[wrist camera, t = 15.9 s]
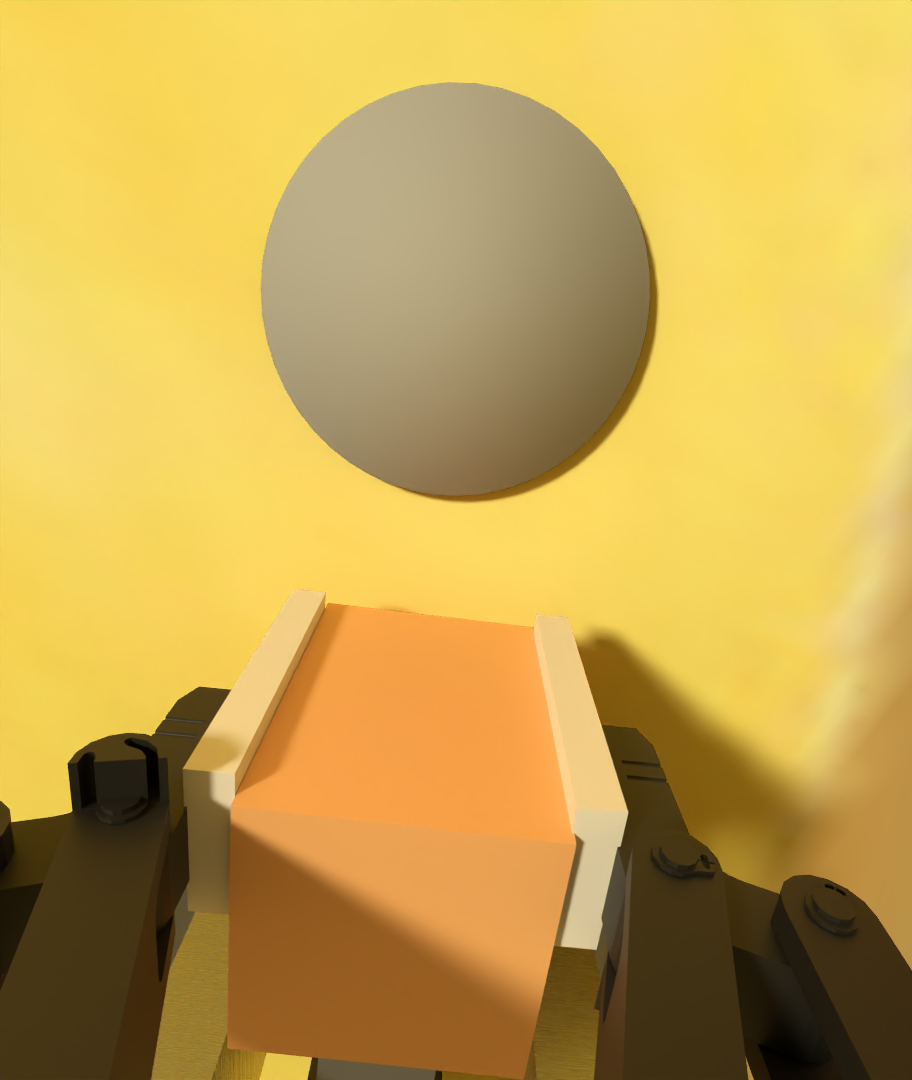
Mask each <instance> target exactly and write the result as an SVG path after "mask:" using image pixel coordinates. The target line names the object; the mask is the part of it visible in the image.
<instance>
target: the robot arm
mask: <svg viewBox="0 0 912 1080" xmlns="http://www.w3.org/2000/svg"><path fill="white" fill-rule="evenodd" d="M325 594H326V592H316V591H306V590H296V589H293V591H292V593H291V594H290V596H289V598H288V599H287V601H286V602H285V604H284V606H283V607H282V609H281V611H280V612H279V614H278V615H277V617H276V619H275V620H274V622H273V623H272V625H271V627H270V628H269V630H268V632H267V633H266V635H265V636H264V638H263V640H262V641H261V643H260V645H259V646H258V648H257V649H256V651H255V653H254V654H253V656H252V657H251V659H250V661H249V662H248V664H247V666H246V667H245V669H244V670H243V672H242V674H241V675H240V677H239V678H238V680H237V682H236V683H235V685H234V687H233V688H232V690H228V689H218V688H208V687H198V688H196V689H195V690H193V691H192V692H190V693H188V694H187V695H185V696H184V697H182V698H181V699H179V700H178V701H177V702H176V704H175V705H174V706H173V708H172V709H171V710H170V712H169V713H168V714H167V716H166V719H165V720H163V721H162V723H161V724H160V725H159V727H158V728H157V729H156V732H155V734H153V735H152V736H149V735H146V734H137V733H124V734H118V735H112V736H107V737H105V738H102V739H99V740H97V741H94V742H91V743H90V744H88V745H87V746H85V747H84V748H82V749H81V750H79V751H78V752H76V753H75V755H74V756H73V757H72V759H71V760H70V761H69V762H68V771H69V781H70V791H71V800H72V812H71V813H68V814H64V815H59V816H54V817H48V818H41V819H33V820H26V821H18V822H11V816H10V809H9V808H8V807H7V806H6V805H5V804H4V803H2V802H1V801H0V1080H151V1077H152V1071H153V1065H154V1059H155V1053H156V1047H157V1041H158V1035H159V1029H160V1023H161V1017H162V1011H163V1005H164V999H165V993H166V987H167V981H168V975H169V969H170V963H171V957H172V951H173V945H174V939H175V913H174V911H175V909H176V907H177V905H178V903H179V901H180V899H181V897H182V895H183V893H184V891H185V889H186V887H187V900H188V911H193V912H204V913H214V914H225V915H229V884H230V814H231V804H232V802H233V800H234V798H235V796H236V794H237V792H238V790H239V787H240V785H241V783H242V781H243V779H244V777H245V775H246V773H247V771H248V769H249V767H250V765H251V762H252V760H253V758H254V756H255V754H256V752H257V750H258V748H259V746H260V744H261V742H262V740H263V737H264V735H265V733H266V731H267V729H268V727H269V725H270V723H271V721H272V719H273V717H274V715H275V713H276V710H277V708H278V706H279V704H280V702H281V700H282V698H283V696H284V694H285V692H286V690H287V688H288V685H289V683H290V681H291V679H292V677H293V675H294V673H295V671H296V669H297V667H298V665H299V663H300V660H301V658H302V656H303V654H304V652H305V650H306V648H307V646H308V644H309V642H310V640H311V638H312V635H313V633H314V631H315V629H316V627H317V625H318V623H319V621H320V619H321V617H322V615H323V613H324V611H325ZM533 633H534V638H535V643H536V648H537V653H538V659H539V664H540V669H541V674H542V679H543V685H544V690H545V695H546V700H547V705H548V711H549V716H550V721H551V726H552V731H553V737H554V742H555V747H556V752H557V757H558V763H559V768H560V773H561V778H562V783H563V789H564V794H565V799H566V804H567V809H568V815H569V820H570V825H571V830H572V833H574V834H575V840H576V850H575V854H574V858H573V863H572V867H571V872H570V876H569V881H568V885H567V889H566V894H565V898H564V903H563V907H562V912H561V916H560V921H559V925H558V929H557V934H556V938H555V943H554V946H562V947H572V948H582V949H593V950H597V946H598V942H599V937H600V933H601V929H602V924H603V928H604V933H605V938H606V942H607V947H608V952H607V957H606V961H605V965H604V969H603V973H602V977H601V982H600V986H599V990H598V994H597V998H596V1003H595V1007H594V1009H596V1010H599V1022H598V1035H597V1047H596V1059H595V1071H594V1080H748V1073H747V1065H746V1058H747V1061H748V1064H749V1067H750V1070H751V1073H752V1076H753V1078H754V1080H912V970H911V969H910V967H909V965H908V964H907V962H906V961H905V959H904V958H903V956H902V955H901V953H900V952H899V950H898V949H897V947H896V945H895V944H894V943H893V941H892V939H891V938H890V936H889V935H888V933H887V932H886V930H885V928H884V927H883V925H882V924H881V922H880V921H879V919H878V918H877V916H876V915H875V914H874V913H873V912H872V911H871V909H870V908H869V907H868V906H867V905H866V903H865V902H864V901H862V900H861V899H860V898H858V897H857V896H856V895H854V894H853V893H852V892H850V891H849V890H848V889H846V888H844V887H842V886H840V885H838V884H836V883H834V882H832V881H830V880H828V879H824V878H820V877H816V876H812V875H799V876H793V877H791V878H790V879H788V880H786V881H785V882H784V883H783V886H782V889H781V892H780V894H777V893H774V892H772V891H769V890H766V889H763V888H760V887H757V886H754V885H751V884H748V883H746V882H743V881H741V880H738V879H736V878H734V877H731V876H729V875H727V874H726V873H724V872H723V871H722V869H721V866H720V864H719V861H718V859H717V858H716V857H715V856H714V854H713V853H712V852H711V851H710V850H709V848H708V847H707V846H705V845H704V844H702V843H701V842H699V841H698V840H697V839H695V838H694V837H692V836H690V835H689V832H688V830H687V828H686V825H685V823H684V820H683V818H682V815H681V813H680V811H679V808H678V806H677V803H676V801H675V798H674V796H673V794H672V791H671V789H670V786H669V784H668V783H667V782H666V780H667V779H666V777H665V774H664V772H663V769H662V768H660V762H659V760H658V757H657V755H656V752H655V750H654V747H653V745H652V744H651V743H650V742H649V741H648V740H647V739H646V738H645V737H644V736H643V735H642V734H641V733H640V732H639V731H638V730H637V729H635V728H625V727H615V726H605V725H601V723H600V719H599V716H598V713H597V710H596V706H595V703H594V700H593V697H592V694H591V690H590V687H589V684H588V681H587V677H586V674H585V671H584V668H583V664H582V661H581V658H580V655H579V651H578V648H577V645H576V642H575V639H574V635H573V632H572V629H571V626H570V622H569V619H568V617H560V616H550V615H540V614H536V620H535V626H534V632H533ZM745 1056H746V1057H745Z"/></svg>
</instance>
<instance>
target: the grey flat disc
mask: <svg viewBox="0 0 912 1080" xmlns="http://www.w3.org/2000/svg"><path fill="white" fill-rule="evenodd" d="M261 299H262V316H263V321H264V327H265V332H266V338H267V342H268V345H269V349H270V352H271V355H272V358H273V362H274V365H275V367H276V370H277V372H278V374H279V376H280V379H281V381H282V383H283V385H284V388H285V390H286V391H287V393H288V395H289V396H290V398H291V400H292V401H293V403H294V405H295V406H296V408H297V410H298V411H299V412H300V414H301V415H302V416H303V418H304V419H305V420H306V421H307V423H308V424H309V425H310V427H311V428H312V429H313V430H314V431H315V432H316V433H317V434H318V435H319V436H320V437H321V438H322V439H323V440H324V441H325V442H326V443H327V444H328V445H329V446H330V447H331V448H332V449H333V450H334V451H336V452H337V453H338V454H339V455H341V456H342V457H343V458H345V459H346V460H347V461H348V462H350V463H351V464H353V465H355V466H356V467H358V468H360V469H361V470H363V471H365V472H366V473H368V474H370V475H372V476H374V477H376V478H378V479H381V480H383V481H385V482H387V483H390V484H392V485H395V486H399V487H402V488H405V489H409V490H412V491H417V492H423V493H429V494H435V495H453V496H464V495H475V494H485V493H489V492H494V491H498V490H503V489H507V488H510V487H513V486H515V485H518V484H521V483H524V482H527V481H529V480H531V479H533V478H535V477H537V476H539V475H541V474H543V473H545V472H547V471H549V470H551V469H552V468H554V467H555V466H557V465H558V464H560V463H561V462H563V461H564V460H566V459H567V458H569V457H570V456H571V455H572V454H573V453H575V452H576V451H577V450H578V449H579V448H580V447H581V446H583V445H584V444H585V443H586V442H587V441H588V440H589V439H590V438H591V437H592V436H593V435H594V434H595V432H596V431H597V430H598V429H599V428H600V427H601V426H602V425H603V424H604V422H605V421H606V420H607V418H608V417H609V415H610V414H611V412H612V411H613V410H614V408H615V407H616V405H617V404H618V402H619V401H620V399H621V397H622V395H623V393H624V391H625V389H626V388H627V386H628V384H629V382H630V380H631V378H632V375H633V373H634V370H635V367H636V365H637V362H638V359H639V357H640V354H641V350H642V346H643V342H644V338H645V334H646V330H647V323H648V314H649V306H650V271H649V264H648V256H647V248H646V244H645V240H644V236H643V233H642V229H641V225H640V221H639V218H638V216H637V213H636V211H635V209H634V206H633V204H632V201H631V199H630V196H629V194H628V192H627V190H626V189H625V187H624V185H623V183H622V182H621V180H620V178H619V176H618V175H617V173H616V171H615V170H614V168H613V167H612V166H611V164H610V163H609V162H608V160H607V159H606V158H605V157H604V155H603V154H602V153H601V151H600V150H599V149H598V147H597V146H596V145H595V144H593V143H592V142H591V141H590V140H589V139H588V138H587V137H586V136H585V135H584V134H583V133H582V132H581V131H580V130H579V129H578V128H577V127H576V126H574V125H573V124H572V123H570V122H569V121H568V120H566V119H565V118H563V117H562V116H561V115H559V114H558V113H557V112H555V111H554V110H552V109H550V108H548V107H546V106H544V105H542V104H540V103H539V102H537V101H535V100H533V99H531V98H529V97H526V96H523V95H520V94H517V93H514V92H512V91H509V90H506V89H503V88H498V87H492V86H487V85H482V84H476V83H449V82H447V83H439V84H431V85H422V86H417V87H414V88H410V89H407V90H403V91H399V92H396V93H392V94H390V95H388V96H386V97H383V98H381V99H379V100H377V101H375V102H372V103H370V104H368V105H366V106H365V107H363V108H361V109H360V110H358V111H357V112H355V113H354V114H352V115H350V116H349V117H347V118H346V119H344V120H343V121H342V122H341V123H339V124H338V125H337V126H336V127H335V128H334V129H332V130H331V131H330V132H329V133H328V134H327V135H326V136H324V137H323V138H322V139H321V140H320V142H319V143H318V144H317V145H316V146H315V147H314V148H313V150H312V151H311V152H310V153H309V154H308V155H307V156H306V158H305V159H304V160H303V162H302V163H301V165H300V166H299V168H298V169H297V171H296V172H295V174H294V175H293V177H292V178H291V180H290V181H289V183H288V185H287V187H286V189H285V191H284V193H283V195H282V197H281V199H280V202H279V204H278V206H277V208H276V211H275V214H274V217H273V220H272V223H271V226H270V229H269V232H268V236H267V241H266V246H265V251H264V257H263V263H262V278H261Z"/></svg>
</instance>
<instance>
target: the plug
mask: <svg viewBox="0 0 912 1080" xmlns="http://www.w3.org/2000/svg"><path fill="white" fill-rule="evenodd" d="M533 632H534V627H525V626H517V625H508V624H500V623H492V622H483V621H475V620H466V619H458V618H449V617H441V616H433V615H424V614H416V613H407V612H399V611H391V610H382V609H374V608H365V607H357V606H348V605H340V604H332V603H328V604H327V606H326V608H325V611H324V613H323V615H322V617H321V619H320V621H319V623H318V625H317V627H316V629H315V631H314V633H313V635H312V638H311V640H310V642H309V644H308V646H307V648H306V650H305V652H304V654H303V656H302V658H301V660H300V663H299V665H298V667H297V669H296V671H295V673H294V675H293V677H292V679H291V681H290V683H289V685H288V688H287V690H286V692H285V694H284V696H283V698H282V700H281V702H280V704H279V706H278V708H277V710H276V713H275V715H274V717H273V719H272V721H271V723H270V725H269V727H268V729H267V731H266V733H265V735H264V737H263V740H262V742H261V744H260V746H259V748H258V750H257V752H256V754H255V756H254V758H253V760H252V762H251V765H250V767H249V769H248V771H247V773H246V775H245V777H244V779H243V781H242V783H241V785H240V787H239V790H238V792H237V794H236V796H235V798H234V800H233V802H232V804H231V814H230V884H229V954H228V1024H227V1048H229V1049H239V1050H248V1051H258V1052H267V1053H277V1054H286V1055H296V1056H305V1057H312V1061H311V1066H310V1070H309V1075H308V1080H442V1071H448V1072H457V1073H467V1074H476V1075H486V1076H495V1077H505V1078H514V1079H524V1076H525V1071H526V1067H527V1063H528V1058H529V1054H530V1049H531V1045H532V1040H533V1036H534V1031H535V1027H536V1023H537V1018H538V1014H539V1009H540V1005H541V1000H542V996H543V992H544V987H545V983H546V978H547V974H548V969H549V965H550V960H551V956H552V952H553V947H554V943H555V938H556V934H557V929H558V925H559V921H560V916H561V912H562V907H563V903H564V898H565V894H566V889H567V885H568V881H569V876H570V872H571V867H572V863H573V858H574V854H575V850H576V840H575V834H574V833H572V830H571V825H570V820H569V815H568V809H567V804H566V799H565V794H564V789H563V783H562V778H561V773H560V768H559V763H558V757H557V752H556V747H555V742H554V737H553V731H552V726H551V721H550V716H549V711H548V705H547V700H546V695H545V690H544V685H543V679H542V674H541V669H540V664H539V659H538V653H537V648H536V643H535V638H534V633H533Z"/></svg>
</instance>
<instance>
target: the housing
mask: <svg viewBox="0 0 912 1080" xmlns="http://www.w3.org/2000/svg"><path fill="white" fill-rule="evenodd" d="M174 913H175V939H174V945H173V951H172V957H171V963H170V969H169V975H168V981H167V987H166V993H165V999H164V1005H163V1011H162V1017H161V1023H160V1029H159V1035H158V1041H157V1047H156V1053H155V1059H154V1065H153V1071H152V1077H151V1080H259V1078H260V1075H261V1071H262V1067H263V1064H264V1060H265V1056H266V1053H267V1052H258V1051H248V1050H239V1049H229V1048H227V1024H228V954H229V915H225V914H214V913H204V912H193V911H188V900H187V887H186V889H185V891H184V893H183V895H182V897H181V899H180V901H179V903H178V905H177V907H176V909H175V911H174ZM607 952H608V947H607V942H606V938H605V933H604V928H603V924H602V929H601V933H600V937H599V942H598V946H597V950H593V949H582V948H572V947H562V946H554V947H553V952H552V956H551V960H550V965H549V969H548V974H547V978H546V983H545V987H544V992H543V996H542V1000H541V1005H540V1009H539V1014H538V1018H537V1023H536V1027H535V1031H534V1036H533V1040H532V1045H531V1049H530V1054H529V1058H528V1063H527V1067H526V1071H525V1076H524V1079H514V1078H505V1077H500V1080H594V1071H595V1059H596V1047H597V1035H598V1022H599V1010H596V1009H594V1007H595V1003H596V998H597V994H598V990H599V986H600V982H601V977H602V973H603V969H604V965H605V961H606V957H607Z"/></svg>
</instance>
